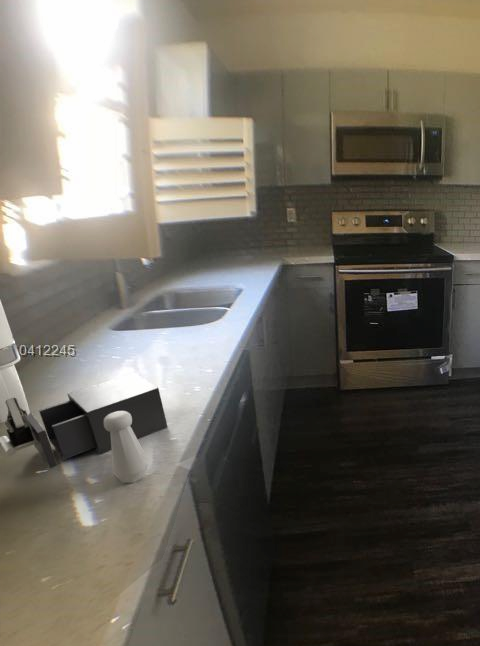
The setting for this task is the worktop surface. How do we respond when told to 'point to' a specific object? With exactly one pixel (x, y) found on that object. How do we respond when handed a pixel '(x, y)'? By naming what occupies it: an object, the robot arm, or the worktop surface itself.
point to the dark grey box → (121, 406)
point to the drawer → (57, 433)
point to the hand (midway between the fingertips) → (24, 445)
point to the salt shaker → (125, 448)
